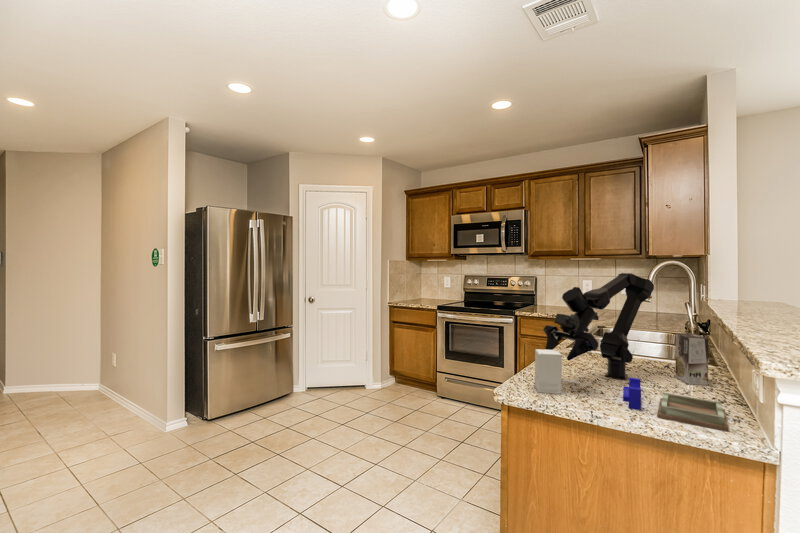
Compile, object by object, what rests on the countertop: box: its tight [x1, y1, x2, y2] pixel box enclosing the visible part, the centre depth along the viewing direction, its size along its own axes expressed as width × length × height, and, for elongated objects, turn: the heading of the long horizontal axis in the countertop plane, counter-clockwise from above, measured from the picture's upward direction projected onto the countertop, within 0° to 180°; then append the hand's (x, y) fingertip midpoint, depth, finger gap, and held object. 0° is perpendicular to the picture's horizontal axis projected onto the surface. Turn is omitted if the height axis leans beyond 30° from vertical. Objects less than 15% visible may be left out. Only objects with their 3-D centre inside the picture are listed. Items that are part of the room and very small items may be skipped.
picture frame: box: [656, 392, 730, 432], centre depth 110 cm, size 15×15×3 cm
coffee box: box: [675, 333, 710, 386], centre depth 141 cm, size 9×6×16 cm
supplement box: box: [534, 348, 563, 395], centre depth 131 cm, size 7×7×13 cm
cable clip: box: [622, 377, 642, 411], centre depth 120 cm, size 12×4×6 cm, turn 150°
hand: (556, 356), depth 132 cm, fingers open, 9 cm apart
